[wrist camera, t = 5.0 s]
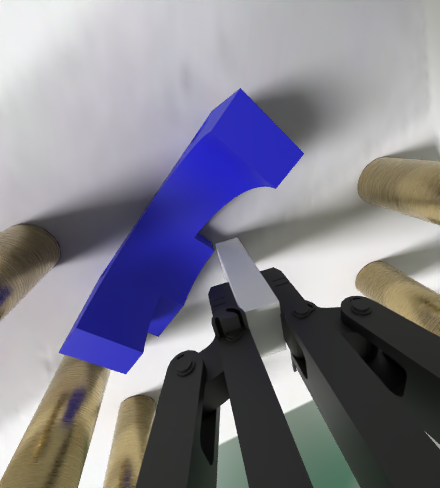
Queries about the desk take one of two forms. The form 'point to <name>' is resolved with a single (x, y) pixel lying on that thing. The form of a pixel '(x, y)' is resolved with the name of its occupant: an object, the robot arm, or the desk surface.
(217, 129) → the blue curved block
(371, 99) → the desk surface
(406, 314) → the spacers
